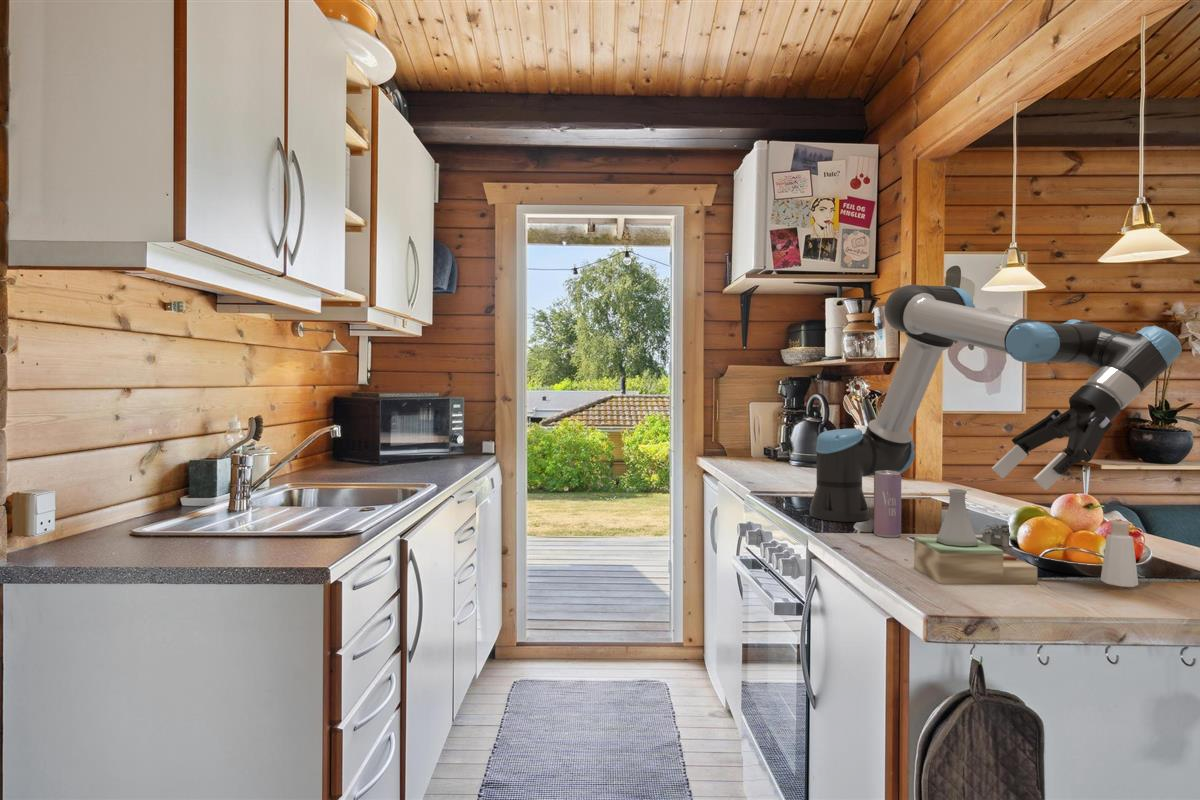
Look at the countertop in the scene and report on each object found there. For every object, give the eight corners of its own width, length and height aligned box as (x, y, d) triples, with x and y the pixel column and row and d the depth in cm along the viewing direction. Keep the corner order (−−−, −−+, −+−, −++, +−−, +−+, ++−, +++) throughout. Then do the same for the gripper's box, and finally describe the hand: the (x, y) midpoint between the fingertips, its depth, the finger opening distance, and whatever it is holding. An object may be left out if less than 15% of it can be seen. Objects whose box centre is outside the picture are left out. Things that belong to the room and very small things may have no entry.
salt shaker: (1120, 588, 121) (1121, 525, 121) (1092, 579, 126) (1093, 519, 126) (1146, 586, 122) (1147, 523, 122) (1117, 577, 127) (1118, 518, 127)
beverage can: (898, 533, 166) (898, 470, 165) (903, 538, 160) (903, 473, 160) (871, 532, 167) (872, 470, 167) (875, 537, 161) (876, 473, 161)
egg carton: (1012, 549, 150) (1012, 531, 150) (976, 543, 156) (976, 525, 156) (1032, 542, 157) (1033, 524, 157) (997, 536, 163) (997, 519, 163)
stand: (914, 567, 135) (914, 536, 135) (1002, 567, 134) (1003, 536, 134) (940, 583, 124) (940, 550, 124) (1037, 584, 123) (1037, 550, 123)
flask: (985, 548, 125) (985, 493, 125) (942, 547, 126) (943, 492, 126) (970, 539, 132) (971, 487, 132) (930, 538, 133) (930, 486, 133)
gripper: (1170, 416, 115) (1076, 505, 116) (1072, 408, 140) (994, 482, 141) (1139, 383, 115) (1044, 473, 116) (1046, 382, 140) (968, 456, 141)
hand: (1017, 478), depth 128 cm, fingers open, 13 cm apart
